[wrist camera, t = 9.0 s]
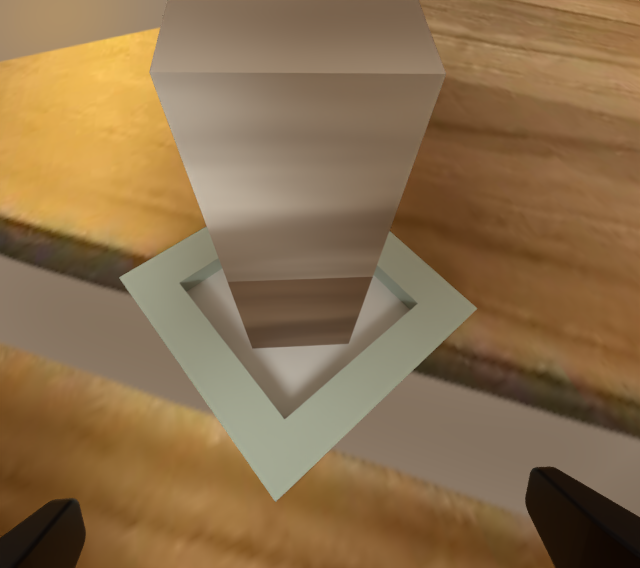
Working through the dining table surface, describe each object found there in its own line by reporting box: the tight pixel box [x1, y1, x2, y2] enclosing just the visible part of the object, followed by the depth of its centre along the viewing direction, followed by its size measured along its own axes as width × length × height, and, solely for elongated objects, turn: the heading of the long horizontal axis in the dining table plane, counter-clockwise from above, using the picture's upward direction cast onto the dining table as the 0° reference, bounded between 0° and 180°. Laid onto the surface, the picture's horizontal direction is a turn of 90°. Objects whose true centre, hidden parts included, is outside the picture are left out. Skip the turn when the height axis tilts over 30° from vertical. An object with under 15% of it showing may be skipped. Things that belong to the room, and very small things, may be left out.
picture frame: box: [119, 226, 477, 502], centre depth 18 cm, size 12×12×2 cm
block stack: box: [150, 0, 446, 349], centre depth 12 cm, size 4×4×13 cm
